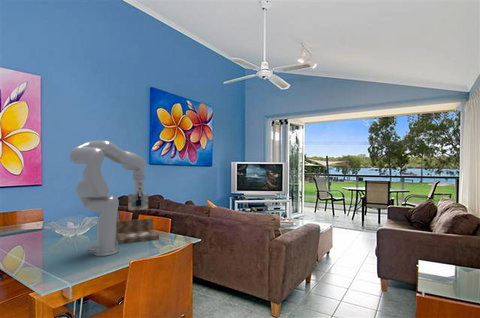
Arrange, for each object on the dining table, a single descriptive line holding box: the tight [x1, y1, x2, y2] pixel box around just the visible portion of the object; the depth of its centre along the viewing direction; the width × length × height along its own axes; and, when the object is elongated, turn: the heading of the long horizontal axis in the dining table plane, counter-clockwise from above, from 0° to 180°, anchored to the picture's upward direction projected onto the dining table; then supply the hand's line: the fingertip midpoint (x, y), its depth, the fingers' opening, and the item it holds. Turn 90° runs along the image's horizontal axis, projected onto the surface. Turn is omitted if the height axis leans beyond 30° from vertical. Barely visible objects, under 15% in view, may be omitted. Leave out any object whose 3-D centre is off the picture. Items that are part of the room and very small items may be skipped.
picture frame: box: [127, 193, 149, 211], centre depth 178 cm, size 12×5×10 cm, turn 120°
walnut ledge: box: [116, 217, 160, 245], centre depth 179 cm, size 24×20×10 cm
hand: (138, 205), depth 178 cm, fingers closed on picture frame, 2 cm apart
